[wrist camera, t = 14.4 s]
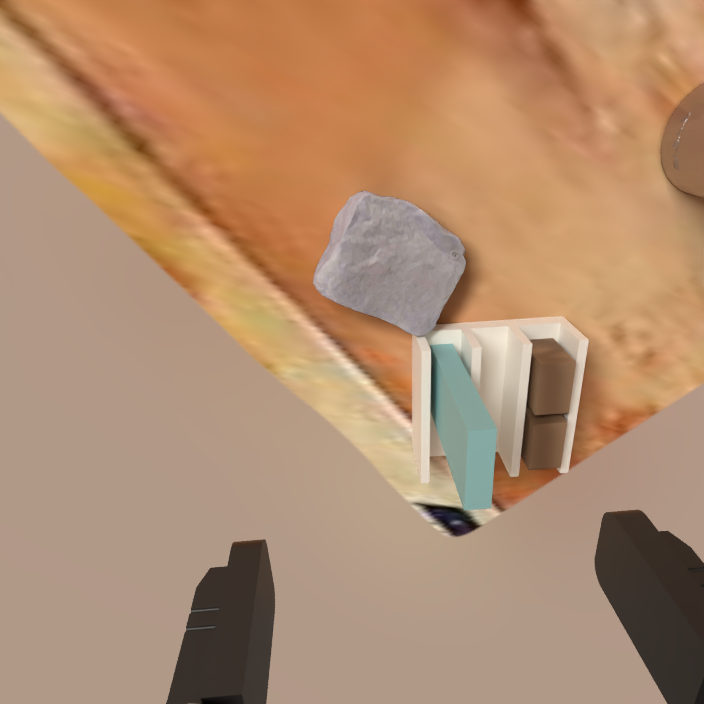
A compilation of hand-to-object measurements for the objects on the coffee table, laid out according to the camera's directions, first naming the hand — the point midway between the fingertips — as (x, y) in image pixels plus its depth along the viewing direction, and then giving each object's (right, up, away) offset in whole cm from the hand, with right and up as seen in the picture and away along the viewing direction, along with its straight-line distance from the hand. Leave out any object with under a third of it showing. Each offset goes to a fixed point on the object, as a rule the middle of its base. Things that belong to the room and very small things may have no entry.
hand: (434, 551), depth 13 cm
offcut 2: (+16, -2, +40) cm, 43 cm away
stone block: (+1, +13, +34) cm, 37 cm away
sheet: (+6, +2, +38) cm, 38 cm away
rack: (+11, +1, +40) cm, 42 cm away
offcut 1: (+15, +4, +37) cm, 41 cm away
